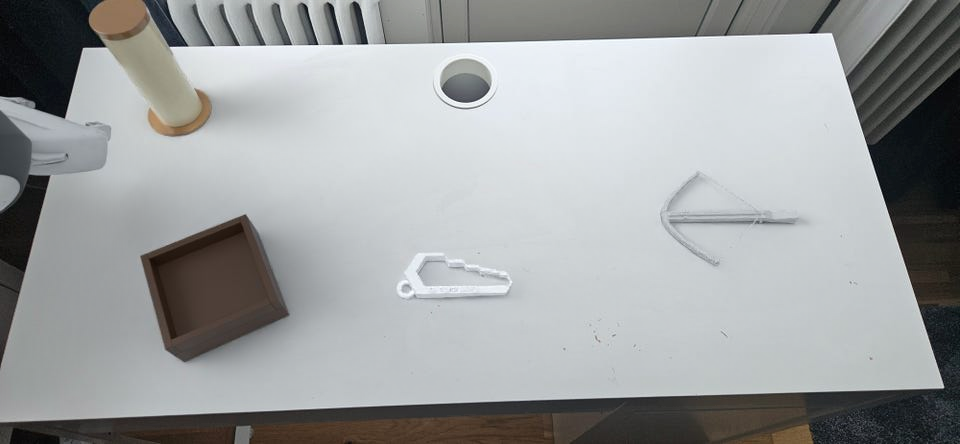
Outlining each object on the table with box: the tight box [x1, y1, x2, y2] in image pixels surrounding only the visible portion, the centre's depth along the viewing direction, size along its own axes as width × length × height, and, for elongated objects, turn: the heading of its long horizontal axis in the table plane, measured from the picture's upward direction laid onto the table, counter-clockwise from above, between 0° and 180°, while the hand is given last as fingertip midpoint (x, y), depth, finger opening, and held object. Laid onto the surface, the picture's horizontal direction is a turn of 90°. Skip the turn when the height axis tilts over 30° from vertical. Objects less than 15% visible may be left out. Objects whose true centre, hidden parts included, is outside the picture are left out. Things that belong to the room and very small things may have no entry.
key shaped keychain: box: [396, 252, 513, 300], centre depth 67 cm, size 13×5×2 cm, turn 91°
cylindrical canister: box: [88, 0, 202, 127], centre depth 71 cm, size 6×6×16 cm
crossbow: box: [660, 170, 799, 266], centre depth 72 cm, size 16×13×2 cm
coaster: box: [147, 87, 212, 137], centre depth 79 cm, size 8×8×1 cm
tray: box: [140, 213, 290, 363], centre depth 64 cm, size 12×12×4 cm
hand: (66, 119), depth 63 cm, fingers open, 8 cm apart
